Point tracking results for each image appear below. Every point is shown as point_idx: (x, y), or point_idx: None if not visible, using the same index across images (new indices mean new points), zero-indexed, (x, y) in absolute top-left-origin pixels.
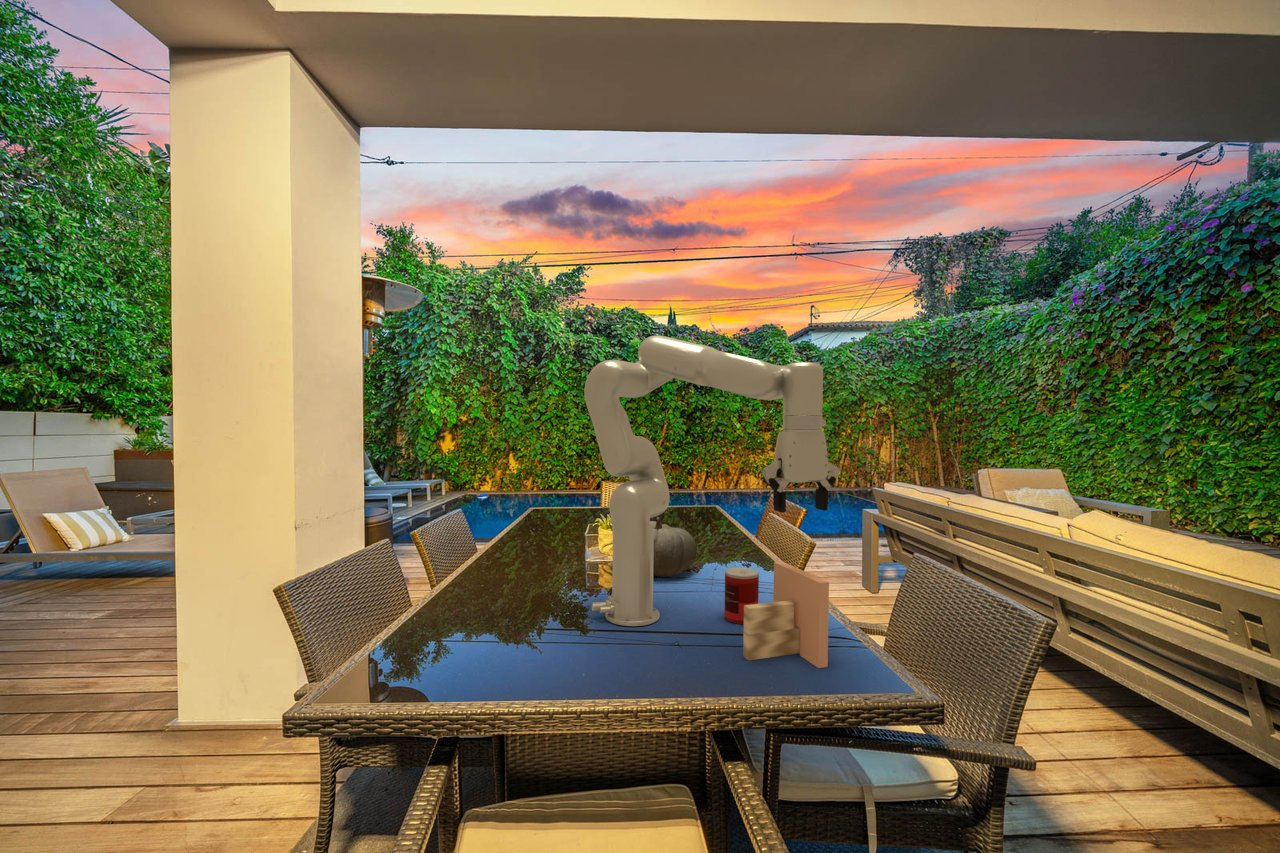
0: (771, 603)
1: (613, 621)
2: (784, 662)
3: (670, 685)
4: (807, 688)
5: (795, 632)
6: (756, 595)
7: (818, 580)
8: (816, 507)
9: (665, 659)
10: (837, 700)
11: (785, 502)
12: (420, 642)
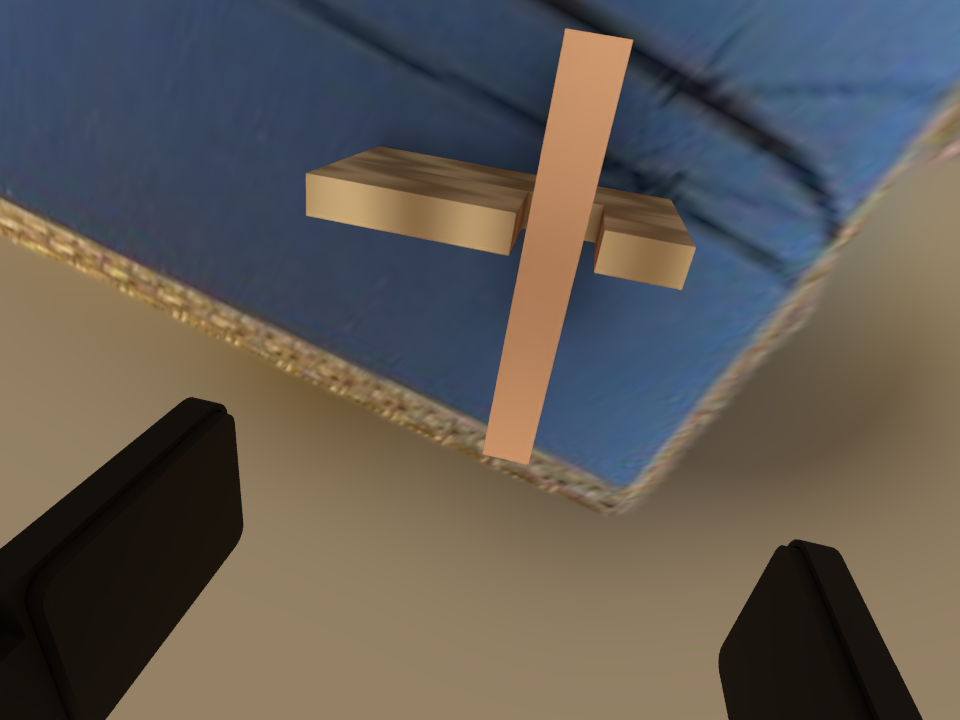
0: (425, 208)
1: None
2: None
3: (130, 205)
4: (421, 368)
5: None
6: None
7: (504, 431)
8: (776, 564)
9: (149, 49)
10: (442, 430)
11: (176, 616)
12: None
